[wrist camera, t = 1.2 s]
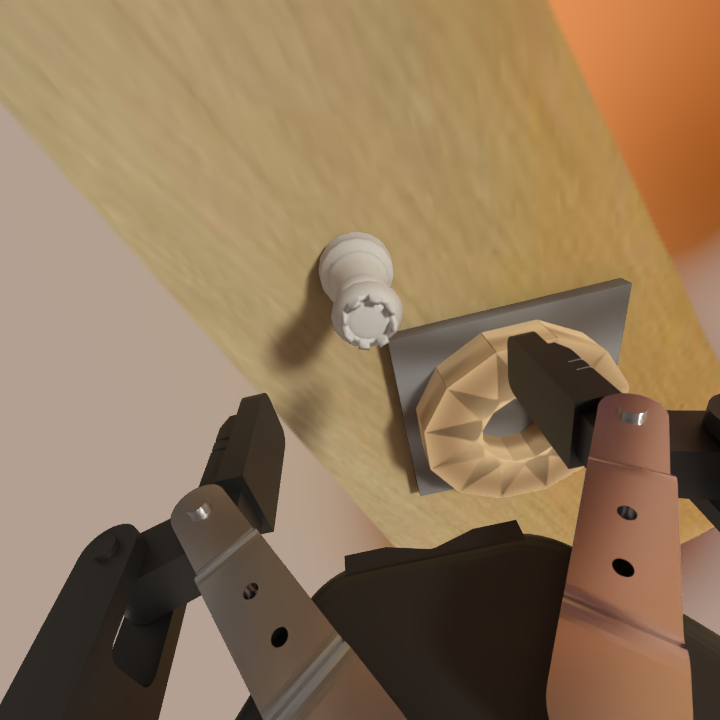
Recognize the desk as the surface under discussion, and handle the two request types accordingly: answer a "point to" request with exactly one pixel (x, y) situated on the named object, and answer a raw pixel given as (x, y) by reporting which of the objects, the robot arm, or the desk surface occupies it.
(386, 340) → the rook chess piece
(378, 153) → the desk surface
